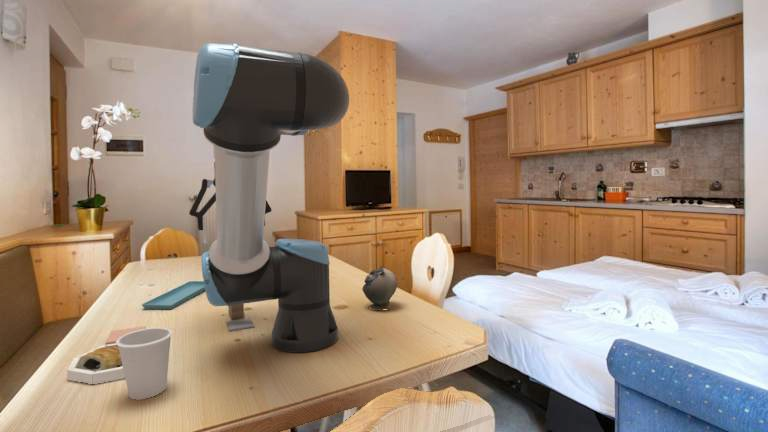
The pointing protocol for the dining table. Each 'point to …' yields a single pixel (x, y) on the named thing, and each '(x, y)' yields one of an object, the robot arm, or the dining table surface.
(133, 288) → the dining table surface
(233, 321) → the tall brown block
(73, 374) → the dish rim
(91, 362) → the pastry
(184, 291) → the teal serving tray
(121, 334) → the tile
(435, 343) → the dining table surface
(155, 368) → the dixie cup
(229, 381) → the dining table surface
